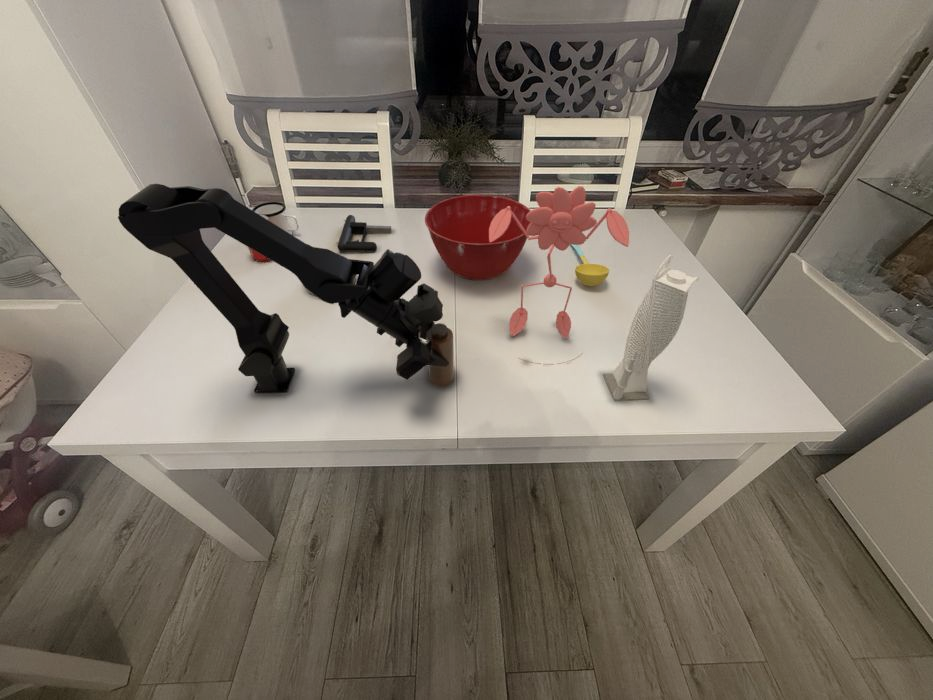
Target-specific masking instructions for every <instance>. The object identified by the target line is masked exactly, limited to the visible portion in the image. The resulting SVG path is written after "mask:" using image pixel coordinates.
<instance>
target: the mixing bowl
mask: <svg viewBox="0 0 933 700" xmlns="http://www.w3.org/2000/svg"><path fill="white" fill-rule="evenodd" d="M507 206H510V207H511V210H512V212H513V213H514V215H515V216H516V218H517V219H518V221H519V222H520V224H521V225H522V227H523V228H524V230H525V231H526V230H527V227H528V225H529V224H530V223H531V222H529V221H528V220H526V215H527V214H528V213H529V212H530V211H531V209H530V208H529V207H528V206H526V205H525V204H523V203H521V202H520V201H517V200H514V199H511V198H508V197H504V196H499V195H493V194H468V195H465V194H464V195H460V196H459V195H458V196H454V197H450V198H447V199H444V200H442V201H439V202H437V203H435V204H434V205H433V206H431V207H430V208H429V209H428V210H427V212H426V213H425V215H424V223H425V226H426V228H427V230H428V233H429V236H430V238H431V241H432V243H433V245H434V247H435V249H436V251H437V253H438V255H439V257H440V259H441V260H442V262H443V263H444V264H445V266H446V267H447V268H448V269H449V270H450V271H451V272H453V274H455V275H457V276H459V277H462V278H463V279H467V280H470V281H488V280H490V279H491V280H492V279H494V278H497V277H499V276H501V275H502V274H504V273H505V272H507V271H508V270H509V269H510V268H511V267H512V266H513V264H514V263H515V262H516V260H517V258H518V257H519V256H520V254H521V252H522V251H523V249H524V246H525V244H526V242H527V240H528V238H526V236H525V235H524V233H523V232H522V230H521V229H520V227H519V226H518V224H517V223H516V221H515V220H514V218H513V217H512V216H511V223H510V225H509V227H508V229H507V230H506V231H505V233H504V234H503V235H502V236H501V237H499V238H498V239H496V240H495V241H493V242H491V243H490V241H489V228H490V224H491V221H492V220H493V218H494V217H495V215H496V214H497V213H498V212H500V211H501V210H502V209H505V208H507Z"/></svg>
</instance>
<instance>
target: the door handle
mask: <svg viewBox="0 0 933 700" xmlns="http://www.w3.org/2000/svg"><path fill="white" fill-rule="evenodd" d="M343 221H344V224H343V227H342V230H341V234H340V237H339V238H338V239H339V240H338V242H337V245H336V247H337V249H338V251H339V252H341V253H344V252H376V250H377V248H378V246H377V243H376V242H374V241H366V237H367V234H369V233H370V234H372V233H373V234H392V225H370V224H369V225H368V224H367V222H363V221H362V222H361V221H358V222H357V221H356V217H355V216H354V215H353V214H349V215H348V216H347V217H346V218H345V220H344V219H343ZM352 235H359V236H362V237H361V241H360V240H359V239H355V240H351V238H352Z"/></svg>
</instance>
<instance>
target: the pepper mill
mask: <svg viewBox="0 0 933 700" xmlns="http://www.w3.org/2000/svg"><path fill="white" fill-rule="evenodd" d="M426 339H427V340H426V344H427V343H428V342H429V341H431V340H432V348H433V349H434V350H435V351H436V352H438V353H439V354H440V355H441V356H443V357H444V358H445V359H446V360H447V361H448V362H449V365H448V366H446V367H443V366H430V365H428V374H429V375H428V376H429V382H430V383H431V384H432V385H434V386H436V387H443V388H444V387H447V386H449V385H451V384H452V383H453V381H454V378H455V372H454V371H455V370H454V369H455V365H454V333H453V331H452V329H450V328H449V327H448V326H447V325H446V324H444V323H441V322H440V323H439V322H438V323H435V325H433V326H432V328H431V329H429V330H428V331H427V334H426Z"/></svg>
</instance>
